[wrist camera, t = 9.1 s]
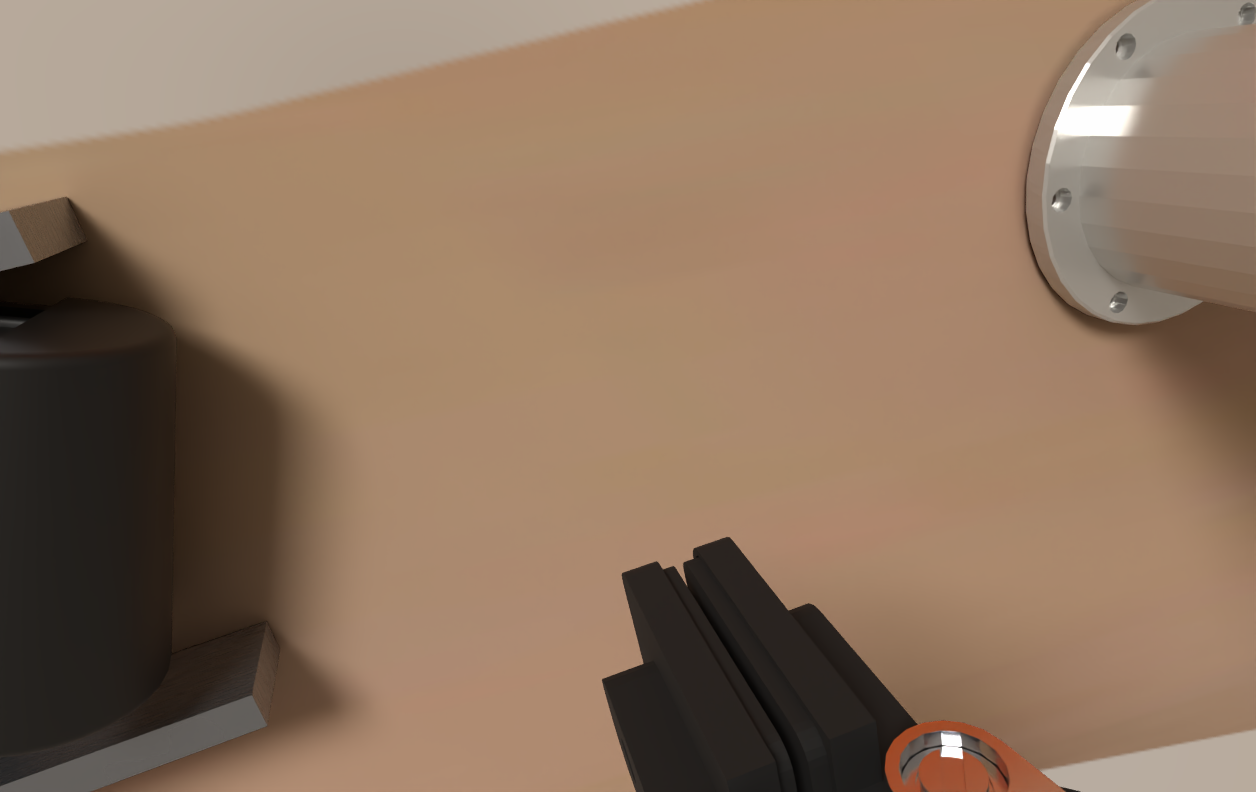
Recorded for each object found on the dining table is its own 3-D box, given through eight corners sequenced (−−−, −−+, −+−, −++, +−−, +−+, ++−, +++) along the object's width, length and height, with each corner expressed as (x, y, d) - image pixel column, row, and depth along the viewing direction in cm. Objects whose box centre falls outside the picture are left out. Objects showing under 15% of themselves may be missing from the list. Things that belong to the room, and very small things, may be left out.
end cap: (194, 605, 26) (140, 754, 20) (-75, 608, 24) (-232, 779, 17) (202, 303, 23) (142, 367, 17) (-101, 272, 21) (-298, 334, 15)
